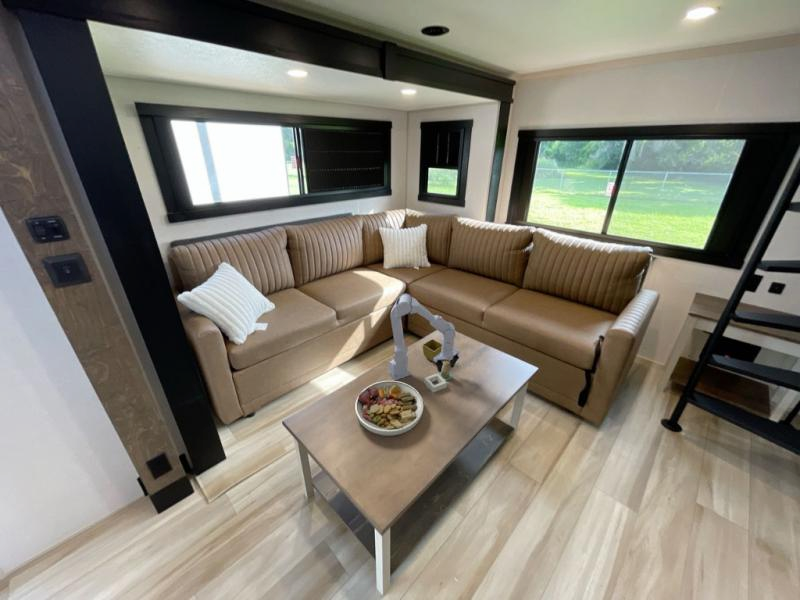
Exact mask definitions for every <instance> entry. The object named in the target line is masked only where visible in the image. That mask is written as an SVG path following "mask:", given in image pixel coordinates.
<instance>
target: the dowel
mask: <svg viewBox="0 0 800 600" xmlns="http://www.w3.org/2000/svg"><path fill="white" fill-rule="evenodd" d="M442 363H443V366H442V370H441V372H440V373H441V377H442V378H445V379H447V378H449V374H450V370H451V366H450V361H447V360H445V361H442Z"/></svg>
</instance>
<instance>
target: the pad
mask: <svg viewBox="0 0 800 600" xmlns="http://www.w3.org/2000/svg"><path fill="white" fill-rule="evenodd" d="M441 373H442V372H438V374H439V375H440V376H441ZM443 379H444V380H445V381H446V382H447V381H449V380H452V379H454V377H453V376H452V374H450V373H449V378H447V379H445V378H443Z"/></svg>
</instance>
